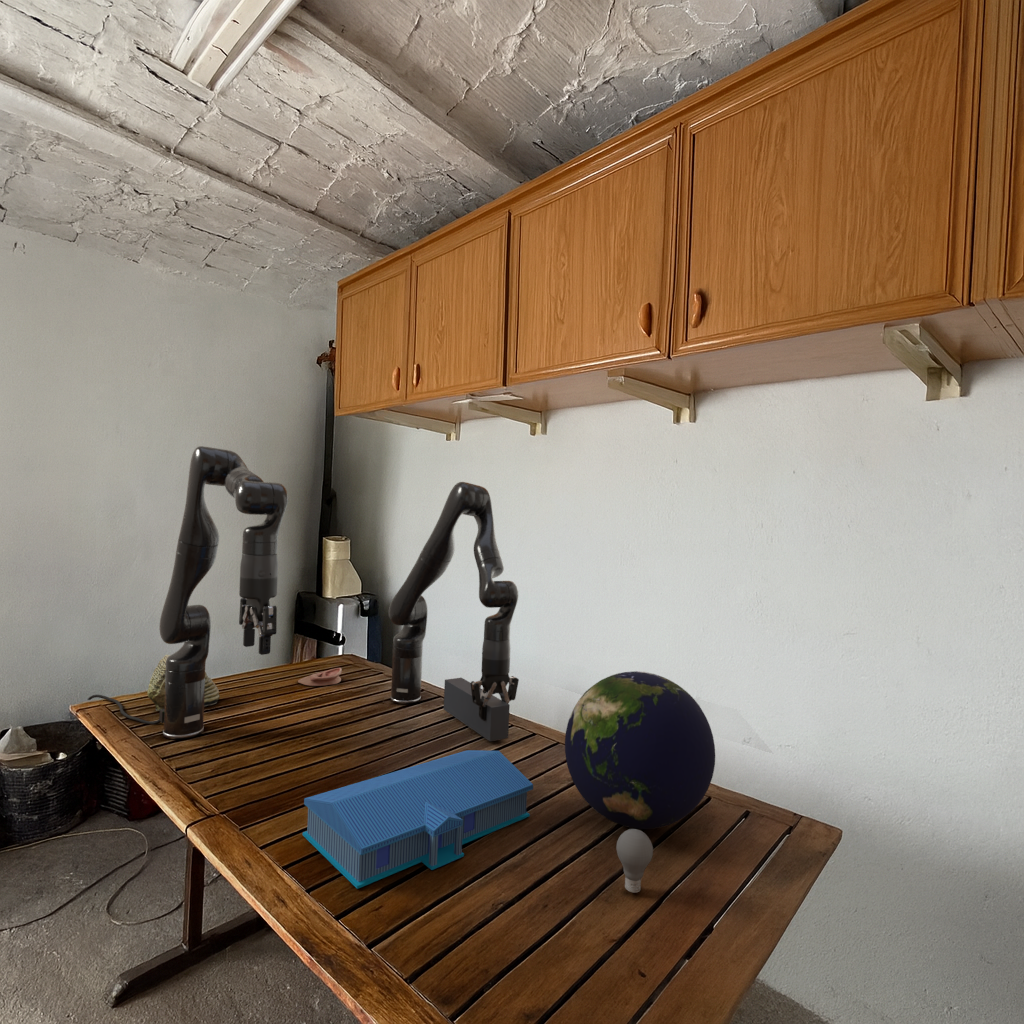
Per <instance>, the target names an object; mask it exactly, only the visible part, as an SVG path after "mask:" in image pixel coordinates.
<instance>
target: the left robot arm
mask: <svg viewBox="0 0 1024 1024" xmlns="http://www.w3.org/2000/svg"><path fill="white" fill-rule="evenodd" d="M188 469H189V470H188V477H187V479H188V480H187V487H186V488H187V489H186V497H185V504H184V509H183V510H184V512H183V516H182V520H181V526H180V530H179V534H178V538H177V545H176V549H175V557H174V564H173V567H172V572H171V578H170V583H169V587H168V589H167V590H168V591H167V594H166V596H165V600H164V603H163V607H162V611H161V614H160V618H159V625H158V626H159V636H160V638H161V640H162V641H163V642H164V644H167V645H177V644H183V645H182V646H181V647H180V648H179V649H178V650H177V651H175V652H173V653H172V654H169V655H170V656H169V657H168V658H167V660H166V674H165V705H164V709H160V711H159V718H158V719H157V720H155V721H149V720H145V719H142V718H139V717H136V716H133V715H130V714H129V713H126V712H125V710H124V706H123V705H122V703H121V702H120V701H119V700H117V699H115V698H112V697H109V696H106V695H103V694H92V695H91V696H89V697H88V698H87V701H90V700H92V699H95V698H99V699H103V700H106V701H108V702H112V703H115V704H116V705H117V707H118V708H119V712H120V714H121V715H122V716H123V717H125V718H126V719H128V720H132V721H136V722H137V723H141V724H144V725H145V724H146V725H157V724H163V730H162V737H164V738H166V739H169V740H185V739H190V738H191V739H192V738H194V737H197V736H199V735H202V734H203V732H204V730H205V729H204V727H205V725H204V722H205V721H204V718H205V706H204V693H205V672H206V664H207V663H206V662H207V658H208V655H209V651H210V639H211V628H212V621H211V614H210V612H209V610H208V608H207V607H206V606H205V605H203V604H190V605H189V602H190V600H191V596H192V594H193V592H194V591H195V589H196V588H197V586H198V585H199V584H200V582H202V580H203V579H204V578H205V577H206V575H207V574H208V573H209V571H210V570H211V569H212V568H213V566H214V563H215V562H216V558H217V553H218V549H219V543H220V534H219V530H218V528H217V526H216V523H215V521H214V519H213V517H212V515H211V514H210V512H209V509H208V507H207V504H206V500H205V486H206V485H209V486H217V487H224V488H225V490H226V492H227V493H228V494H229V496H231V498H233V499H234V502H235V507H236V510H237V511H238V512H239V513H242V514H245V515H249V516H253V515H254V516H256V515H257V516H259V515H260V516H266V517H265V518H264V520H263V521H262V523H259V524H256V525H255V524H254V525H250V526H247V527H245V528H244V529H243V531H242V545H241V546H242V547H241V549H242V550H241V552H242V553H241V560H240V566H239V567H240V568H239V592H238V593H239V597H240V601H239V618H238V623H239V625H240V626H241V628H242V630H243V635H242V636H243V637H242V641H243V642H242V645H243V647H244V648H249V647H250V648H251V647H254V645H255V642H256V641H255V639H256V638H255V637H256V629H257V632H258V636H259V637H258V655H261V656H263V655H269V654H270V653H271V644H272V643H271V642H272V641H271V640H272V639H271V638H272V637H273V636H275V635H277V629H278V628H277V623H278V622H277V621H278V620H277V619H278V618H277V617H278V616H277V615H278V614H277V613H278V610H277V609H278V608H277V605H271V603H270V599H273V598H276V597H277V595H278V580H279V579H278V576H279V561H278V560H279V559H278V543H279V533H280V529H281V525H282V522H283V519H284V516H285V513H286V510H287V508H288V503H289V494H288V491H287V489H286V487H285V486H284V485H283V484H282V483H280V482H268V481H267V482H266V481H264V480H263V479H262V478H261V477H260V476H258V475H257V474H256V473H254V472H253V471H251V470H250V469H249V468H248V466H247V464H246V463H245V462H244V460H243V459H242V457H241V456H240V455H239V454H238V453H237V452H235V451H232V450H229V449H223V448H216V447H212V446H204V445H202V446H201V445H199V446H197V447H195V449H194V450H193V452H192V454H191V458H190V462H189V468H188ZM255 628H256V629H255Z"/></svg>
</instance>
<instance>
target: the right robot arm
mask: <svg viewBox="0 0 1024 1024" xmlns="http://www.w3.org/2000/svg"><path fill="white" fill-rule="evenodd" d="M462 515H463V516H464V515H465V516H469V517H473V518H474V520H475V522H476V525H477V533H476V537H475V540H474V543H473V555H474V560H475V563H476V567H477V571H478V598H479V602H480V603H481V604H482V605H483V607H485V608H488V609H495V608H499V609H498V611H497V612H496V613H495V614H492V615H489V616H487V617H486V618H485V619H484V625H483V626H484V627H483V641H482V649H481V678H480V679H479V680H477V681H474V680H472V681H470V683H471V692H472V701H473V703H475V704H476V705H478V706H479V717H480V719H481V720H483V721H485V720H486V715H487V707H486V705H487V703H488V701H489V699H490V698H491V696H492V695H493V696H494V695H495V694H498V695H499V697H500V700H502V701H504V702H506V703H507V704H510V702H511V701H515V700H516V698H517V692H518V686H519V678H517V677H516V676H514V675H511V676H510V675H509V674H510V671H511V670H510V669H511V668H510V667H511V626H512V622H513V617H514V614H515V611H516V608H517V605H518V601H519V588H518V585H516V583H515V582H514V581H512V580H493V579H495V578H498V577H500V576H501V575H503V573H504V571H505V565H504V561H503V559H502V555H501V553H500V549H499V545H498V541H497V538H496V531H495V522H494V515H493V506H492V499H491V496H490V493H489V491H488V490H487V488H485V487H484V486H481V485H478V484H474V483H470V482H466V481H459V482H457V483H456V484H454V486H453V487H452V488H451V490H450V491H449V494H448V495H447V498H446V500H445V503H444V505H443V508H442V510H441V513H440V516H439V518H438V520H437V521H436V524H435V526H434V528H433V530H432V532H431V534H430V536H429V537H428V538H427V541H426V542H425V544H424V546H423V548H422V550H421V551H420V553H419V555H418V558H417V559H416V562H415V563H414V565H413V567H412V569H411V570H410V572H409V573H408V575H407V577H406V579H405V581H404V583H403V584H402V585H401V586H400V588H399V589H398V591H397V592H396V594H395V595H394V596H393V598H392V600H391V602H390V603H389V607H388V618H389V620H390V621H391V623H392V624H394V625H395V626H403V627H402V628H401V630H400V631H398V633H397V634H395V635H394V636H393V640H392V661H391V662H392V664H391V665H392V666H391V685H390V686H391V689H390V701H391V702H392V703H395V704H399V705H411V704H416V703H419V702H420V701H421V700H422V694H421V693H422V672H423V649H424V648H423V647H424V640H425V638H426V633H427V623H428V603H427V601H426V599H425V597H424V596H423V594H424V593H425V592H426V591H427V589H429V588H430V587H431V586H432V585H433V584H434V583H435V582H437V581H438V580H439V579H440V578H441V577H442V576H443V575H444V573H445V572H446V570H448V567H449V565H450V564H451V562H452V560H453V558H454V556H455V553H456V543H455V528H456V525H457V523H458V520H459V519H460V518H461V516H462ZM507 686H508V689H507ZM480 689H482V691H481V697H480ZM486 692H487V694H486Z"/></svg>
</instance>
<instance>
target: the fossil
mask: <svg viewBox="0 0 1024 1024" xmlns="http://www.w3.org/2000/svg"><path fill="white" fill-rule="evenodd" d="M170 655H171V654H165V655H164V656H163V657H162V658H161V659H160V660H159V662H158V663H157V666H156V667H155V669H154V670H153V672H152V675H151V677H150V680H149V684H148V688H147V697H148V699H149V700H150V701H152V703H153V704H154V706H155V711H158V712H160V709H164V705H165V674H166V660H167V658H168V657H169V656H170ZM220 698H221V696H220V690H219V688H218V686H217V685H216V683H215V682H214V681H213V679H212V678H211V677H209V675H208V674H207V672H206V671H205V693H204V707H207V706H213V705H215V704H217V703H218V701H219V699H220Z"/></svg>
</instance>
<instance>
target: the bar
mask: <svg viewBox="0 0 1024 1024" xmlns="http://www.w3.org/2000/svg"><path fill="white" fill-rule="evenodd" d="M482 689H483V688H481V689H480V697H481V691H482ZM443 693H444V694H443V711H444V712H446V713H448V714H450V715H451V716H452V717H454V718H455V719H457V720H458V721H459V722H461V723H462V724H464V725H465V726H467V727H468V728H469V729H471V730H473V732H475V733H477V734H478V735H480V736H481V737H482V738H484V739H486V740H487V741H488V742H494V741H499V740H504V739H505V740H506V739H508V738H509V728H510V703H508V704H507V703H506V702H504V701H502V700H501V698H498V697H497V696H495V695H494V694H493V695H492V696H491V698H490V699H489V701H488V703H487V705H486V707H487V715H486V720H485V721H483V720H481V719H480V717H479V706H478V705H476V704H475V703H473V701H472V692H471V681H468V680H466V679H465V678H463V677H456V678H448V679H447V678H446V679H444V689H443ZM486 694H487V692H486Z"/></svg>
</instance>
